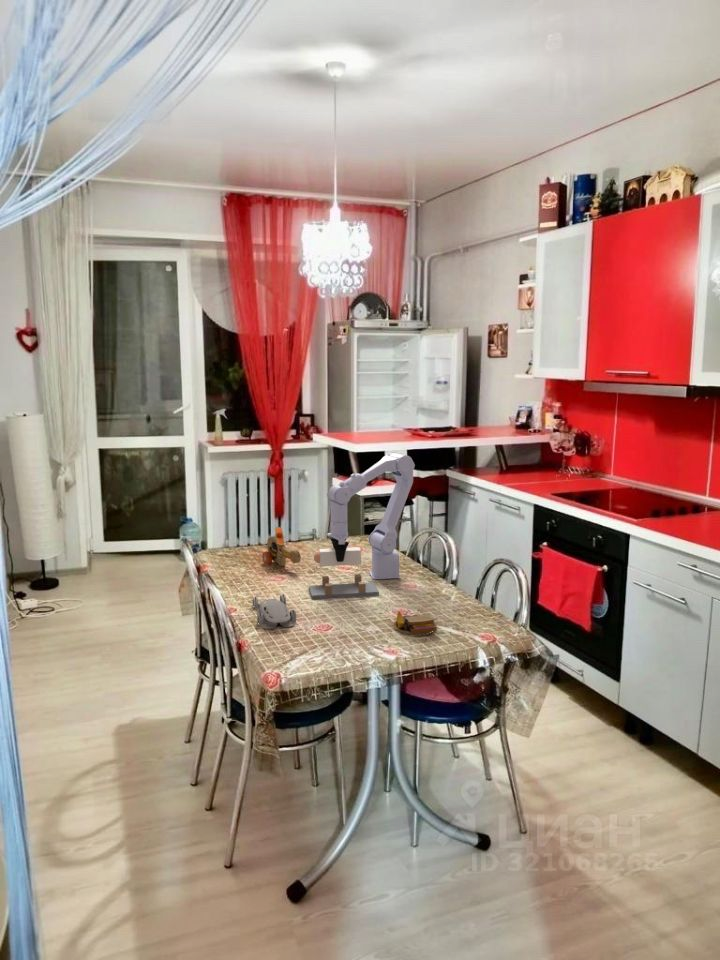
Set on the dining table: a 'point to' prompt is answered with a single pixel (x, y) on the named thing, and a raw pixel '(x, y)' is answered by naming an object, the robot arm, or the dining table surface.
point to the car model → (274, 613)
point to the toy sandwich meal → (414, 624)
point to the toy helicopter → (279, 550)
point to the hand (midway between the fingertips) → (339, 559)
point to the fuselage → (329, 557)
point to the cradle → (343, 589)
